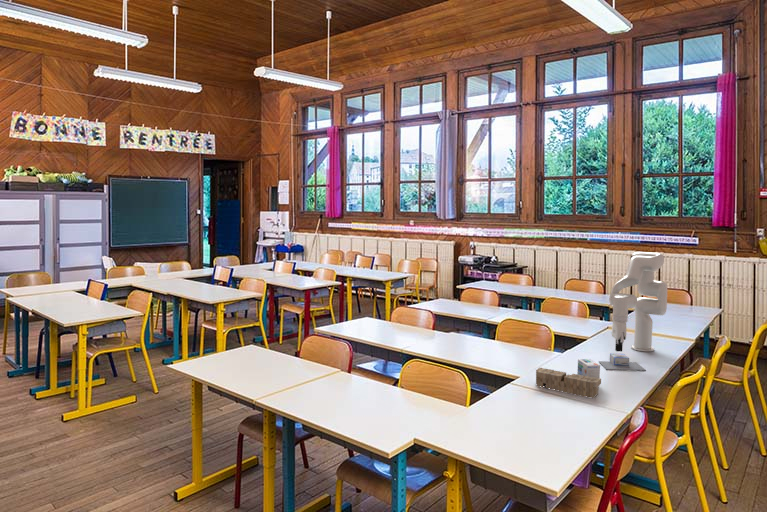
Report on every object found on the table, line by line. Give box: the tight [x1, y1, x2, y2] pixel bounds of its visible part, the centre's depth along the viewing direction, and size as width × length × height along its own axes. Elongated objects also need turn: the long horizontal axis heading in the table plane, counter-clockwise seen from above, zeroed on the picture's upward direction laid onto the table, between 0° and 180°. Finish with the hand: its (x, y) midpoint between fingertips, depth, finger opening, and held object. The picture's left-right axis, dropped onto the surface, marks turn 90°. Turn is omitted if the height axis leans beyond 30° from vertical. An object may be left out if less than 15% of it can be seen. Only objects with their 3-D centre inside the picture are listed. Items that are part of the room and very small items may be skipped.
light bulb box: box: [577, 358, 601, 379], centre depth 262 cm, size 11×7×11 cm, turn 5°
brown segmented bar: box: [535, 367, 602, 398], centre depth 252 cm, size 8×8×29 cm
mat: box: [598, 360, 647, 372], centre depth 290 cm, size 14×20×1 cm
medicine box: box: [609, 352, 630, 366], centre depth 293 cm, size 8×4×9 cm
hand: (618, 350), depth 294 cm, fingers closed
